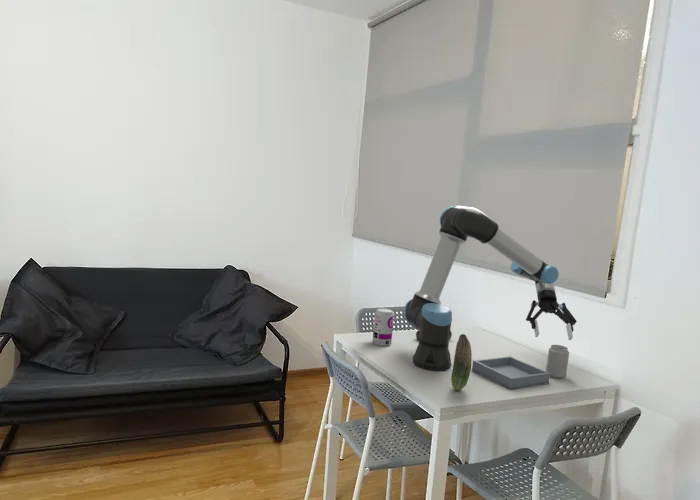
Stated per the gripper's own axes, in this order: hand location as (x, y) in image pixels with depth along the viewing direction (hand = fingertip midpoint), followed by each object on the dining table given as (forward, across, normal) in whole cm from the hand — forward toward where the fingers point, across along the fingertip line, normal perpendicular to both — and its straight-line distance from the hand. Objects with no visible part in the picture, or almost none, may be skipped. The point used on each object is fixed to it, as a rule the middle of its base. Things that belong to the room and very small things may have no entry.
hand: (554, 337), depth 211 cm
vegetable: (+33, +43, +15) cm, 56 cm away
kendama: (-11, +44, -30) cm, 54 cm away
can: (+16, +1, -3) cm, 16 cm away
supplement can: (0, +69, -19) cm, 71 cm away
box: (+20, +20, +1) cm, 29 cm away
